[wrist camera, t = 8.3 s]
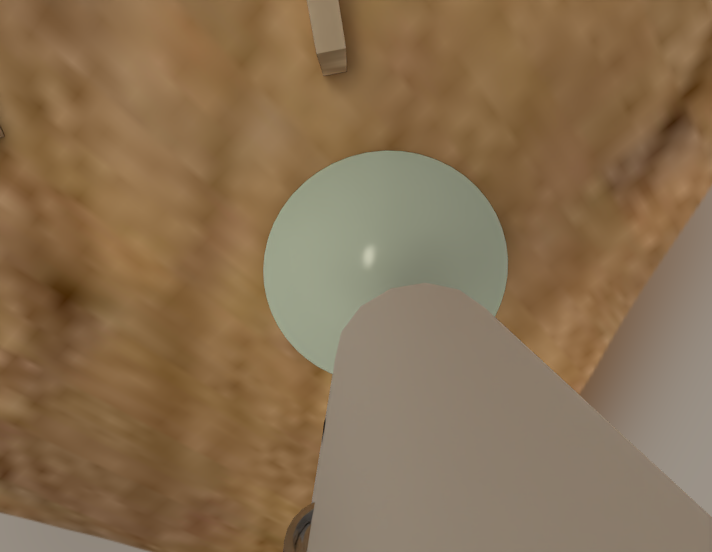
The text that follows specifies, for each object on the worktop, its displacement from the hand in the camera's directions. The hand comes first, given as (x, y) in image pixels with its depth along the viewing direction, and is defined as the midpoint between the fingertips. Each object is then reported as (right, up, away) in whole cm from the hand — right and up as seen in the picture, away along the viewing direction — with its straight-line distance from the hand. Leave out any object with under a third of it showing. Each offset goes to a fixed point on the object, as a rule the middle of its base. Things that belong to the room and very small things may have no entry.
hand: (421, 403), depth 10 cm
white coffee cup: (0, +1, +2) cm, 2 cm away
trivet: (0, +4, +11) cm, 12 cm away
